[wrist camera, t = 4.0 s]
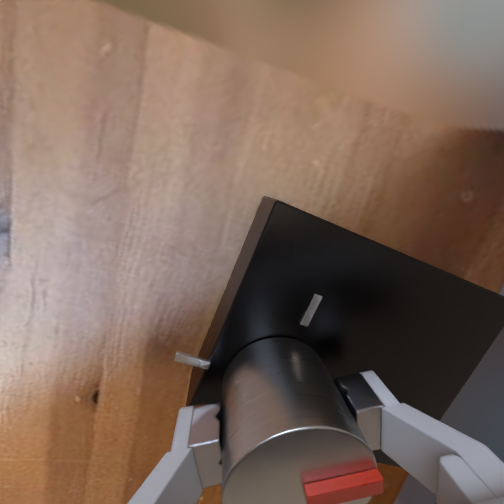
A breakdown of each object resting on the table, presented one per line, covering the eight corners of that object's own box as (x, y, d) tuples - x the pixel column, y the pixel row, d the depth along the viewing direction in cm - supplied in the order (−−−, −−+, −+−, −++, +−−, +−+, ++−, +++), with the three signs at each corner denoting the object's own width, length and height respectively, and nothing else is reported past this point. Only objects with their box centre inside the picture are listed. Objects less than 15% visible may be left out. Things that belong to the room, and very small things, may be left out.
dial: (230, 431, 11) (235, 576, 7) (214, 346, 10) (207, 461, 6) (326, 412, 12) (384, 539, 7) (321, 327, 10) (386, 422, 6)
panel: (160, 384, 14) (142, 440, 11) (237, 184, 11) (242, 184, 8) (364, 434, 16) (396, 491, 13) (460, 279, 14) (525, 305, 11)
